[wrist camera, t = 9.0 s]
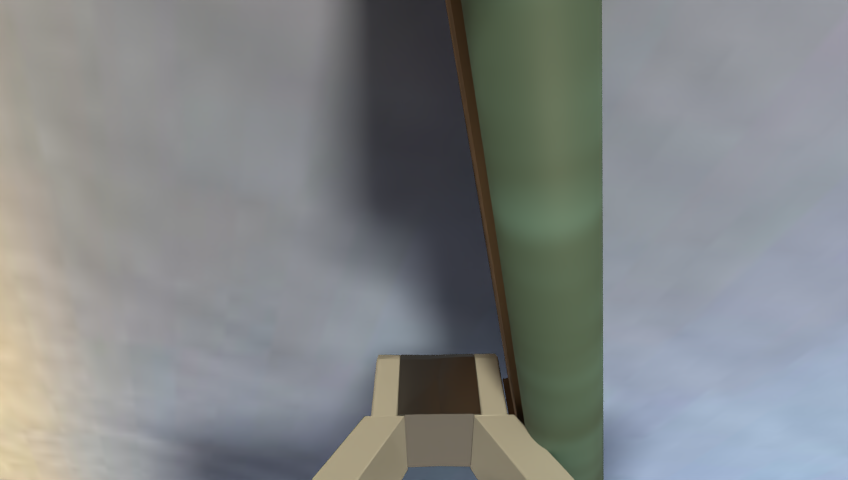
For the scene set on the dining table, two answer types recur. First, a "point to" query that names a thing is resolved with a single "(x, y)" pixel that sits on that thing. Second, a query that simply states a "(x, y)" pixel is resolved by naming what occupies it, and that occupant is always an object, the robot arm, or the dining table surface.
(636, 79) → the dining table surface
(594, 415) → the brown wooden panel
